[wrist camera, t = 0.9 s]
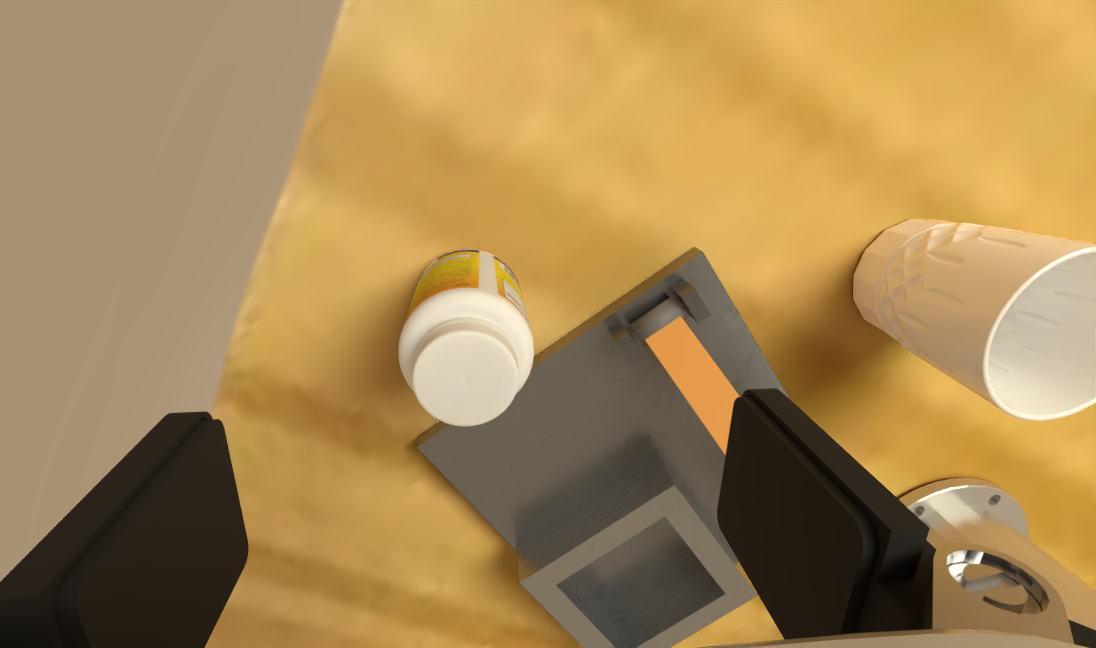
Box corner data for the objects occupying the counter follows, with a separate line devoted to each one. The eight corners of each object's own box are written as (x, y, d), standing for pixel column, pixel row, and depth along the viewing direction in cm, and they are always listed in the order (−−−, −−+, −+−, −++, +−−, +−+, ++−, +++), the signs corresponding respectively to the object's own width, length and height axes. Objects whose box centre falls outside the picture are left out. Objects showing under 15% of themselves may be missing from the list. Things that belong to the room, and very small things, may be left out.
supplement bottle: (400, 320, 30) (364, 415, 21) (442, 227, 29) (424, 284, 19) (494, 359, 32) (501, 465, 22) (538, 273, 30) (566, 346, 21)
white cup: (963, 322, 35) (1141, 400, 25) (840, 349, 34) (975, 438, 25) (975, 194, 32) (1182, 228, 22) (841, 222, 31) (994, 268, 22)
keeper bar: (800, 475, 27) (804, 476, 26) (753, 503, 28) (755, 506, 26) (671, 300, 31) (669, 293, 29) (631, 327, 31) (628, 322, 30)
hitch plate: (836, 484, 38) (877, 527, 34) (600, 628, 40) (614, 684, 36) (694, 247, 31) (726, 266, 27) (418, 436, 33) (410, 479, 29)
